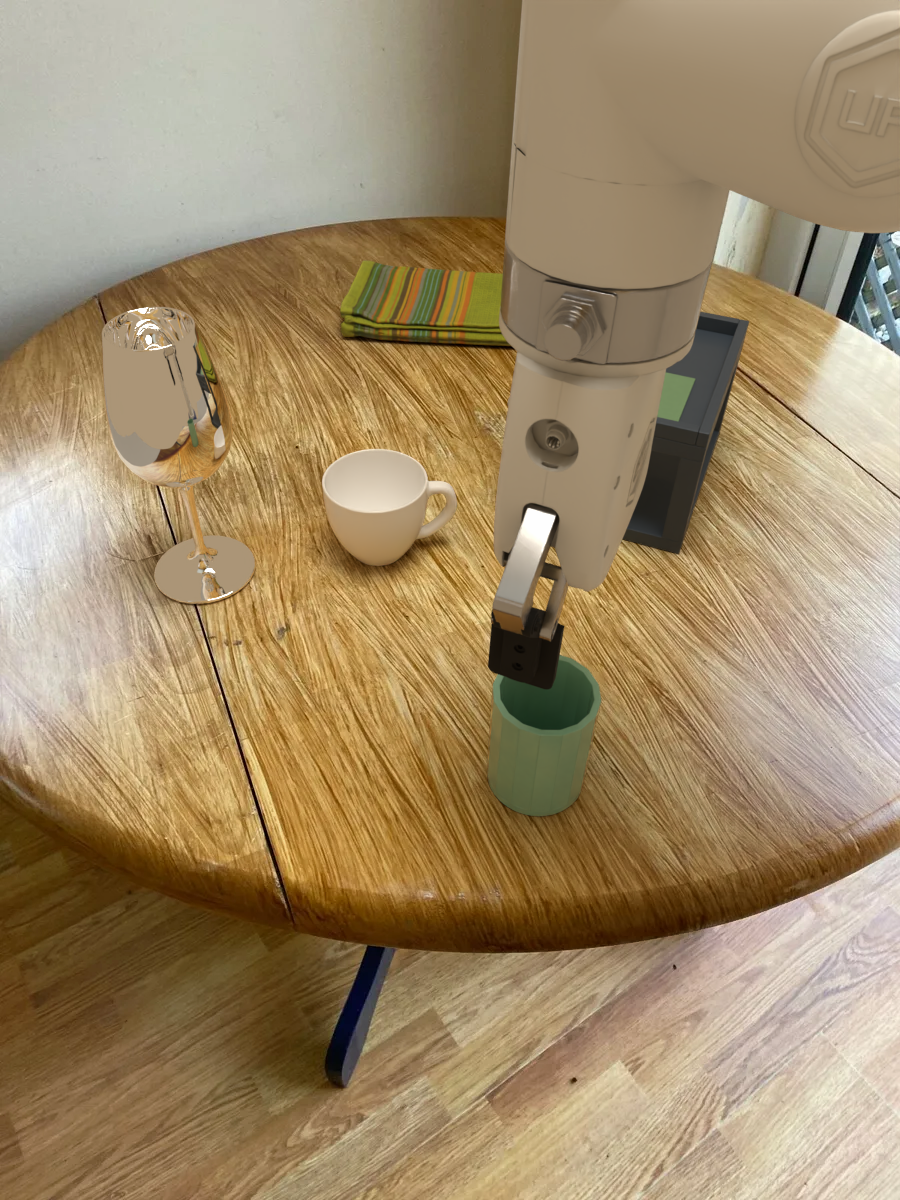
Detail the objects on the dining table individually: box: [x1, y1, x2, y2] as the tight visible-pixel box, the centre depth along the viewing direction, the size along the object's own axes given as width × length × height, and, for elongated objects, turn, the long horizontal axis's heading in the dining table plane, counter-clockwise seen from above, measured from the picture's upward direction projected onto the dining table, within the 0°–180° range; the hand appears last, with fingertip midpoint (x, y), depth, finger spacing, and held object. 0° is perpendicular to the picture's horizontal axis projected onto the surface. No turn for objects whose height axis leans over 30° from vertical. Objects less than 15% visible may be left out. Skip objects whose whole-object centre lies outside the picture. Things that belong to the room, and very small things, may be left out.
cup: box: [321, 448, 458, 567], centre depth 69 cm, size 8×10×7 cm
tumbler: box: [486, 654, 602, 817], centre depth 53 cm, size 6×6×8 cm
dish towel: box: [339, 260, 512, 347], centre depth 98 cm, size 15×36×3 cm, turn 85°
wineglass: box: [101, 306, 257, 605], centre depth 62 cm, size 8×8×20 cm
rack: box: [622, 311, 750, 555], centre depth 75 cm, size 14×18×11 cm
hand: (551, 609), depth 46 cm, fingers open, 9 cm apart
